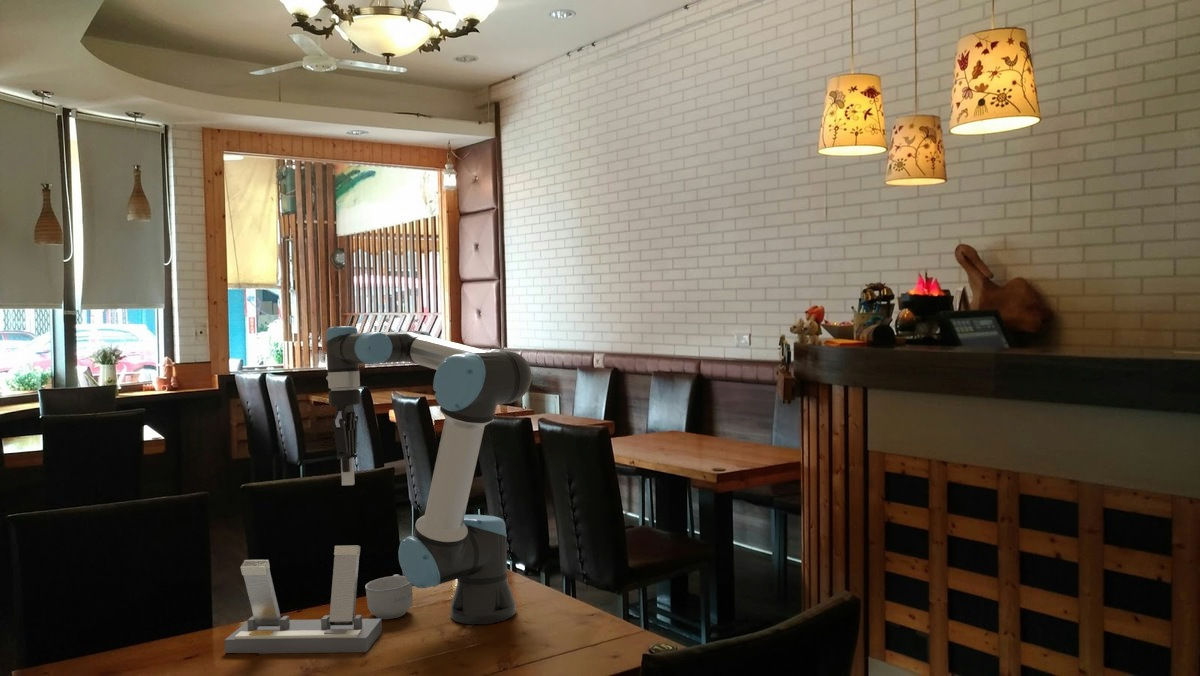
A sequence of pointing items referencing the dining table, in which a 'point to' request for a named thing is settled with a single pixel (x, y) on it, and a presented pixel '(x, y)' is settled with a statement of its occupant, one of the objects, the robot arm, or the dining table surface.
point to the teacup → (389, 596)
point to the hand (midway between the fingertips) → (348, 484)
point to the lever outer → (261, 592)
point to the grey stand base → (304, 636)
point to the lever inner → (344, 585)
